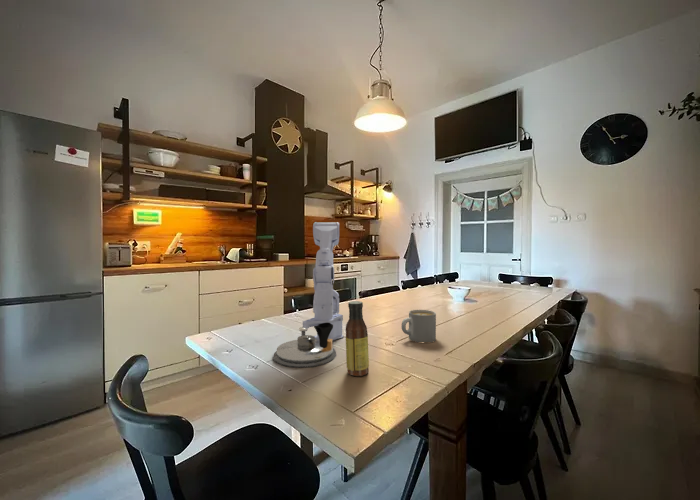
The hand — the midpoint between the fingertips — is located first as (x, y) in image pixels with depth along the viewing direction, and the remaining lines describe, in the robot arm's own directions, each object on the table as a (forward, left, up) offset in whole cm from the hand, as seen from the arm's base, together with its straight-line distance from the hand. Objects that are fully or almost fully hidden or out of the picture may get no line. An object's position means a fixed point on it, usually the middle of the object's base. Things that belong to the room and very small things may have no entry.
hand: (323, 347), depth 97 cm
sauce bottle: (0, +15, -4) cm, 15 cm away
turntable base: (+3, -6, -4) cm, 8 cm away
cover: (+2, -6, -1) cm, 7 cm away
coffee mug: (-38, +9, -4) cm, 40 cm away
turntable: (+3, -6, -4) cm, 8 cm away
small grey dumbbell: (-4, -17, -4) cm, 17 cm away
